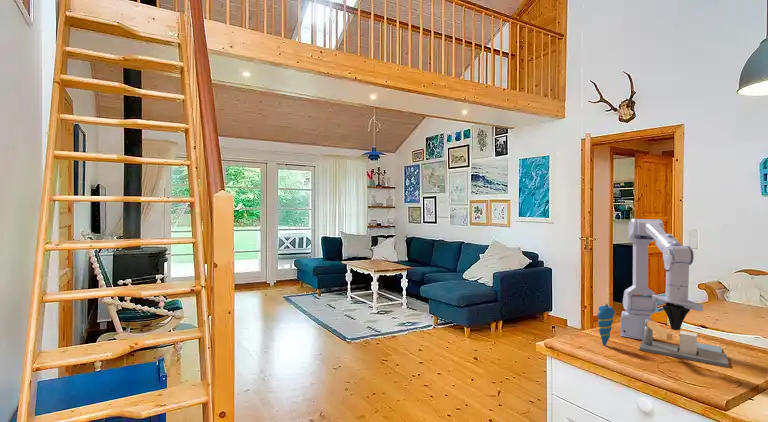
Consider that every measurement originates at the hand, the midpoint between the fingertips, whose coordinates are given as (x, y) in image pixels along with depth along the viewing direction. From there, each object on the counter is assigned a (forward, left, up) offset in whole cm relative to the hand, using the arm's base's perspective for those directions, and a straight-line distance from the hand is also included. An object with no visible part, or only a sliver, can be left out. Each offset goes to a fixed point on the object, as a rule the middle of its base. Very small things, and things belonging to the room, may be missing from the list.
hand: (675, 329), depth 129 cm
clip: (-5, +6, -3) cm, 8 cm away
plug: (+3, +13, -10) cm, 17 cm away
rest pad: (+8, +25, -10) cm, 28 cm away
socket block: (+2, +13, -10) cm, 17 cm away
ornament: (-20, +5, -10) cm, 23 cm away
